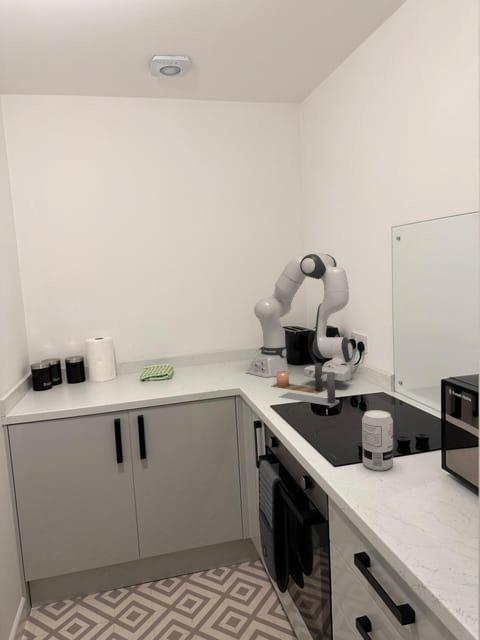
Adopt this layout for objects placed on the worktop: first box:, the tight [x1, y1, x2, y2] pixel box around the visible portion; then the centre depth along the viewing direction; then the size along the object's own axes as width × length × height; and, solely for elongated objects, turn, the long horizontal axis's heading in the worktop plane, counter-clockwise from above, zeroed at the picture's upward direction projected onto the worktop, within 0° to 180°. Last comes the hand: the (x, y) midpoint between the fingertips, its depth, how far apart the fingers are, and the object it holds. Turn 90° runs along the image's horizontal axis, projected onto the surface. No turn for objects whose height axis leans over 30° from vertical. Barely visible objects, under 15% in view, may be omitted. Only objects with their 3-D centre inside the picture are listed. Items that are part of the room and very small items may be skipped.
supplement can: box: [361, 409, 394, 472], centre depth 137 cm, size 8×8×15 cm
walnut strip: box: [270, 362, 327, 395], centre depth 216 cm, size 24×8×13 cm, turn 52°
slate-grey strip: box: [278, 372, 340, 409], centre depth 200 cm, size 24×8×13 cm, turn 52°
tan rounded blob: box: [275, 371, 290, 387], centre depth 222 cm, size 6×6×6 cm
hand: (317, 377), depth 209 cm, fingers closed on walnut strip, 3 cm apart
